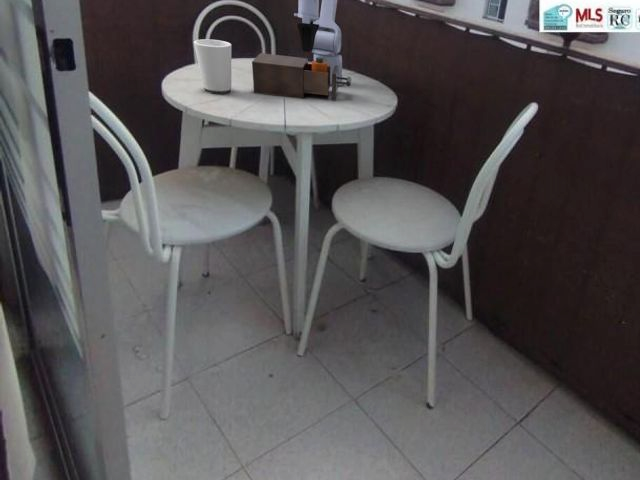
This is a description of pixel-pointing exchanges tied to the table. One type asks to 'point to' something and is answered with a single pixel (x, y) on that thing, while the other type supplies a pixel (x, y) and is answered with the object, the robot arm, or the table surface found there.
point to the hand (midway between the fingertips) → (307, 50)
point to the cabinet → (278, 75)
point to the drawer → (322, 81)
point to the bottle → (319, 65)
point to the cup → (214, 64)
